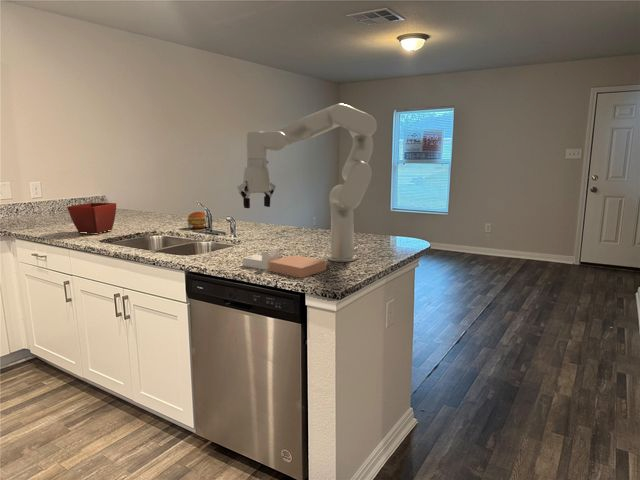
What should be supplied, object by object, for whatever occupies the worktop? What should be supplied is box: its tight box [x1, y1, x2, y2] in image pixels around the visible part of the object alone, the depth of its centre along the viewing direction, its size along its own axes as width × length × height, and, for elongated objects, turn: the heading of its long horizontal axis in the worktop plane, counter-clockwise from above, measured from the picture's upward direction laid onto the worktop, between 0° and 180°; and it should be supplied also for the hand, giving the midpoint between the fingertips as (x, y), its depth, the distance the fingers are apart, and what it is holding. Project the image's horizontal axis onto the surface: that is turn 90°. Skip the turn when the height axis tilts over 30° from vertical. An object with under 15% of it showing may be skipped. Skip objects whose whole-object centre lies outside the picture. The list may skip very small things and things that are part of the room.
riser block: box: [269, 254, 327, 279], centre depth 173 cm, size 14×17×4 cm
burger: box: [187, 211, 206, 230], centre depth 276 cm, size 13×14×10 cm
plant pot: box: [66, 202, 117, 233], centre depth 263 cm, size 19×19×17 cm
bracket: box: [242, 247, 280, 271], centre depth 180 cm, size 13×7×8 cm, turn 55°
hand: (257, 207), depth 176 cm, fingers open, 9 cm apart
